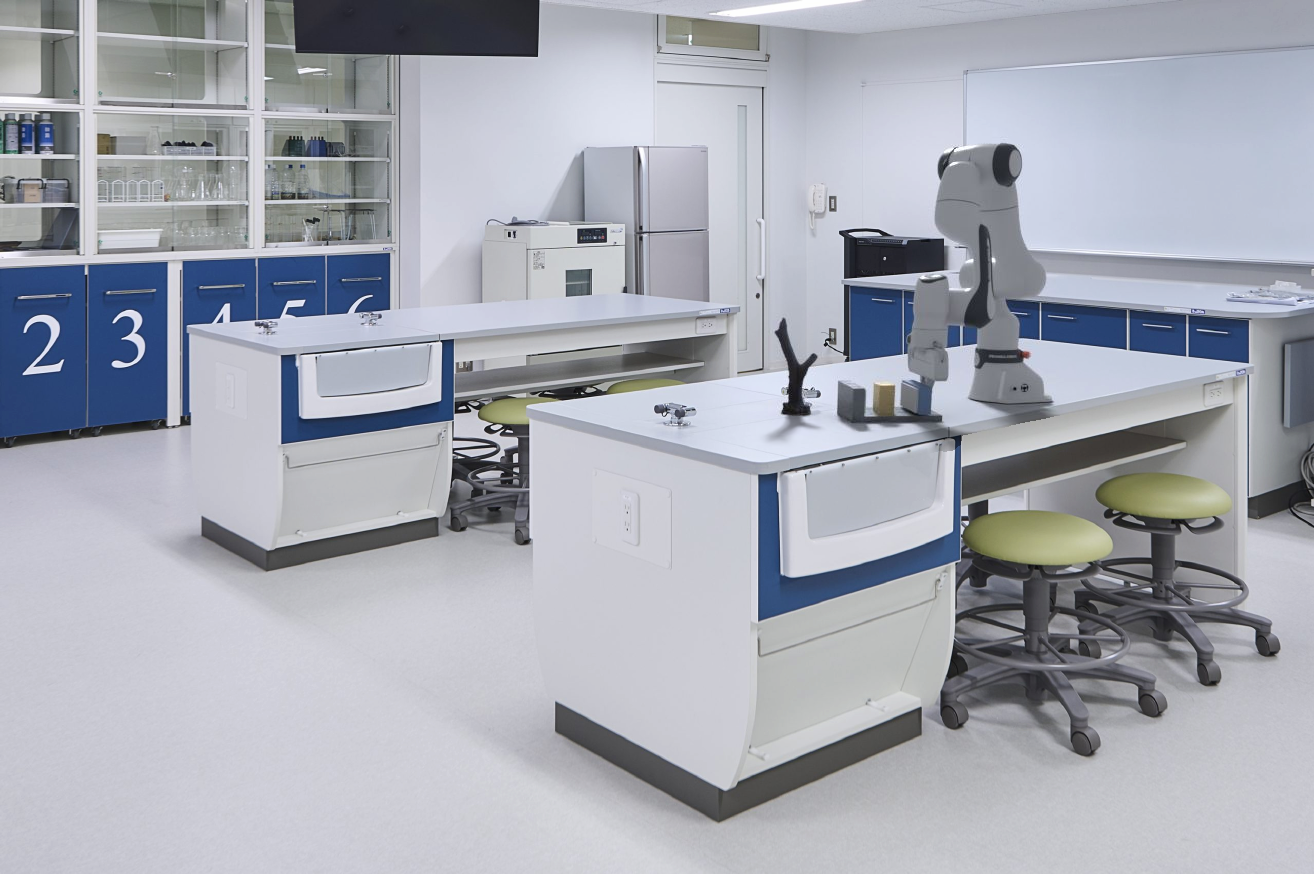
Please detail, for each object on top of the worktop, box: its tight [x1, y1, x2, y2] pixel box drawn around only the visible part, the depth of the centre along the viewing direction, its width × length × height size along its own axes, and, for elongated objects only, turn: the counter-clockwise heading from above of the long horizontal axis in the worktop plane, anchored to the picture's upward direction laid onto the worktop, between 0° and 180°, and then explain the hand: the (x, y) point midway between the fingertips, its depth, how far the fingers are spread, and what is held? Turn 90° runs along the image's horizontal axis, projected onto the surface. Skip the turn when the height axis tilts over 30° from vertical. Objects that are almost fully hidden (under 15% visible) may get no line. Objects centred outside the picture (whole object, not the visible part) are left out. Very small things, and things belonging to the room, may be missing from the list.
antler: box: [774, 317, 819, 416], centre depth 306 cm, size 12×8×25 cm
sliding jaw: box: [899, 379, 933, 415], centre depth 304 cm, size 4×14×7 cm, turn 7°
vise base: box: [836, 379, 943, 424], centre depth 303 cm, size 23×14×8 cm, turn 97°
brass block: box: [872, 382, 896, 413], centre depth 303 cm, size 4×5×7 cm
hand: (926, 394), depth 304 cm, fingers closed
